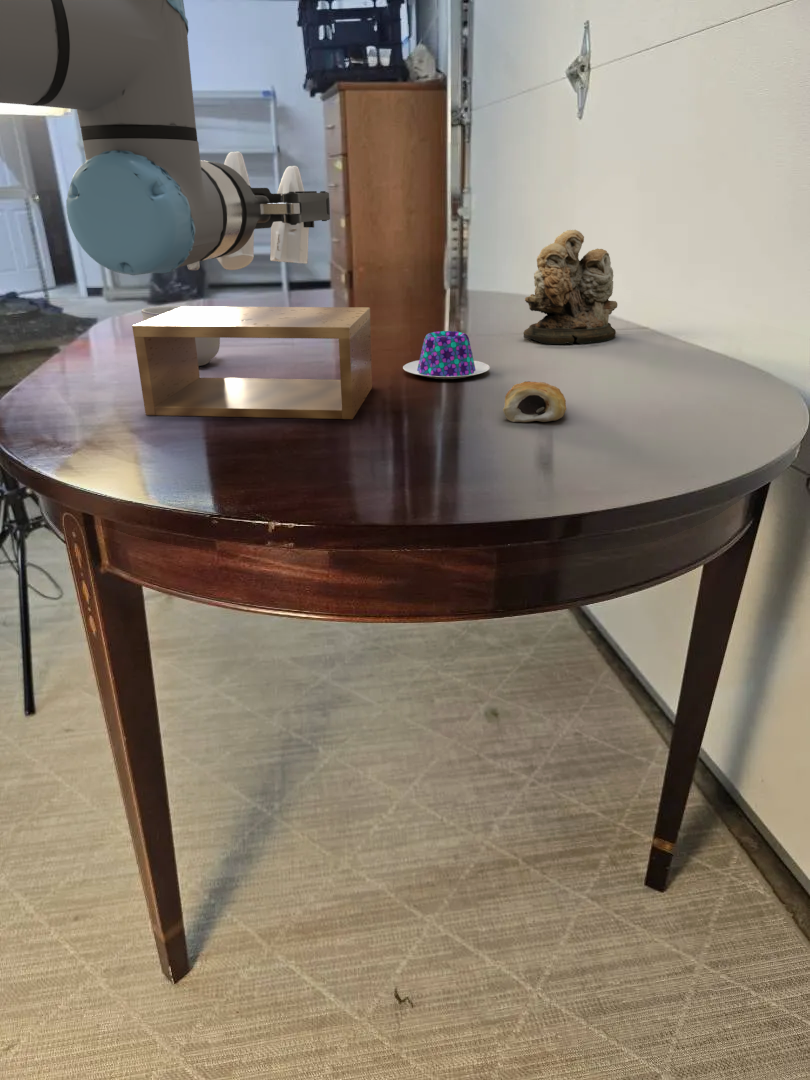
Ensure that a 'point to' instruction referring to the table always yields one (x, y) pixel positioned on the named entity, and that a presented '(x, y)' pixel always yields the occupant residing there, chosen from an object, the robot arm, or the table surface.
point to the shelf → (184, 393)
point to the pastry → (534, 402)
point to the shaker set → (285, 237)
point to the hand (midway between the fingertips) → (273, 205)
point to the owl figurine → (572, 293)
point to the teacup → (204, 345)
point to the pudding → (446, 357)
